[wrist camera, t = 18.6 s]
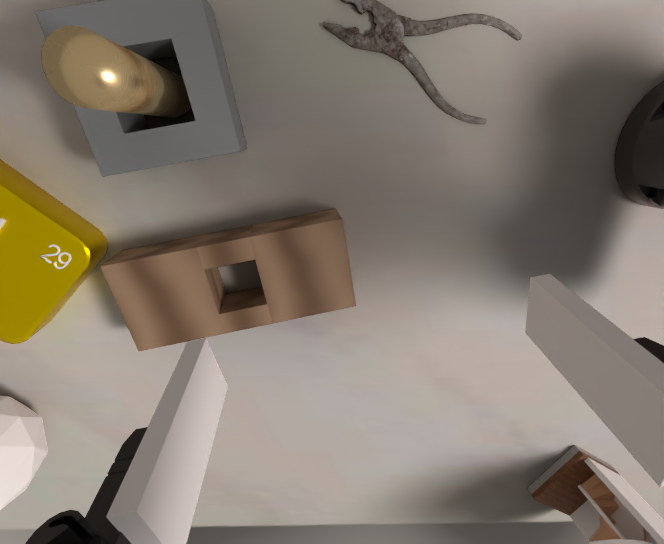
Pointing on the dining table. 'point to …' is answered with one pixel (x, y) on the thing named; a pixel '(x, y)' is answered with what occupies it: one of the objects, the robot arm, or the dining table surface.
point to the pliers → (396, 27)
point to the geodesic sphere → (19, 447)
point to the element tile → (39, 255)
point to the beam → (207, 287)
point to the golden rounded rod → (110, 75)
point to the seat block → (154, 43)
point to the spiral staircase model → (598, 500)
